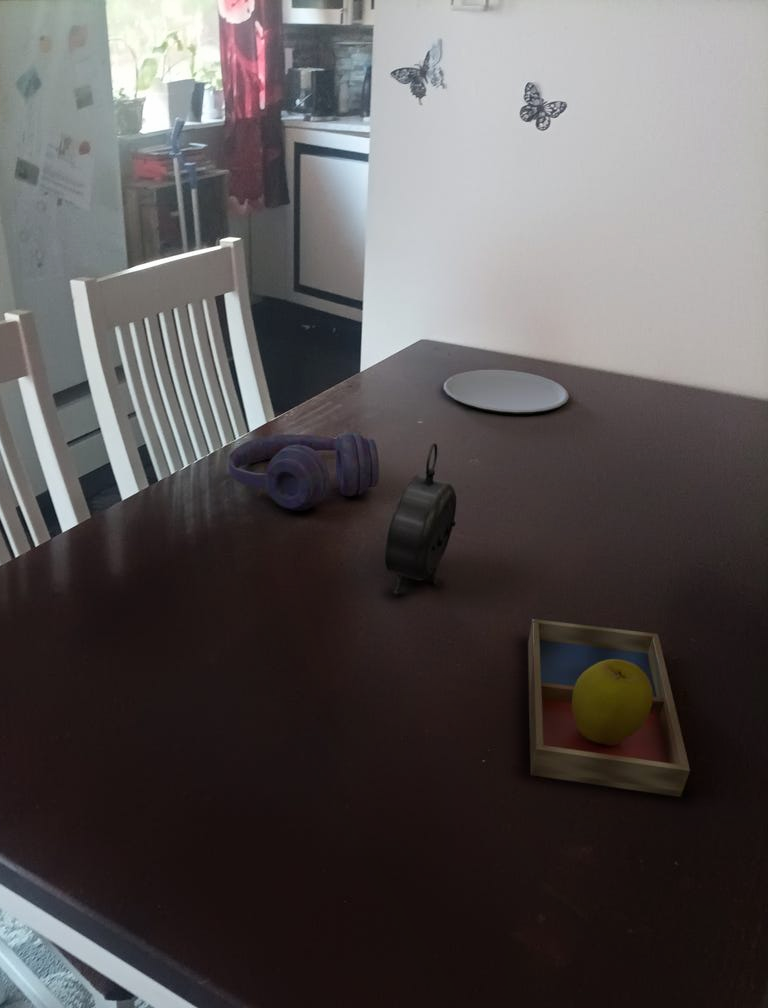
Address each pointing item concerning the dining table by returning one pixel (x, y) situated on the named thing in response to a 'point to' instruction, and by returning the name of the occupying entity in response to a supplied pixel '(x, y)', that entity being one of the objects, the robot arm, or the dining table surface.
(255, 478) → the headphones
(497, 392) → the plate
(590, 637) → the sorting tray
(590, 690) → the apple
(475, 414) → the dining table surface
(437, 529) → the alarm clock
